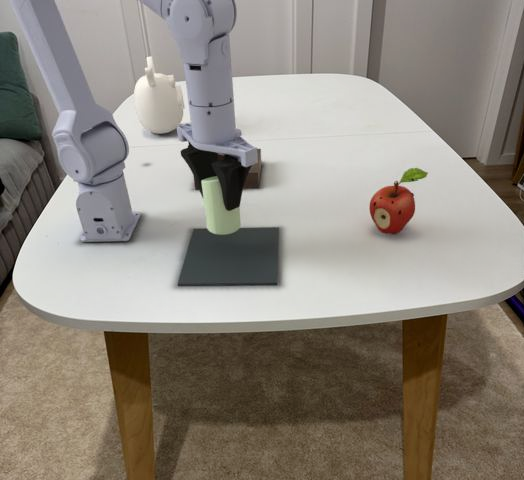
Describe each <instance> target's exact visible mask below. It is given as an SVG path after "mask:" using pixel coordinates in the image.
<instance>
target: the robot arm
mask: <svg viewBox="0 0 524 480" xmlns="http://www.w3.org/2000/svg"><path fill="white" fill-rule="evenodd" d="M8 1H9V3H10V6H11V8H12V11H13V12H14V15H15V17H16V19H17V22H18V24H19V26H20V29H21V31H22V33H23V35H24V38H25V39H26V42H27V44H28V46H29V49H30V51H31V53H32V56H33V57H34V61H35V62H36V64H37V66H38V69H39V71H40V73H41V76H42V79H43V80H44V83H45V85H46V88H47V90H48V91H49V94H50V97H51V99H52V101H53V103H54V105H55V107H56V110H57V112H58V117H57V120H56V123H55V125H54V128H53V129H52V133H51V136H52V139H53V141H54V143H55V145H56V146H55V147H56V150H57V158H58V162H59V164H60V166H61V168H62V169H63V171H64V172H65V174H66V175H67V176H69V177H70V178H71V179H72V181H73V182H76V183H77V184H78V190H79V191H78V195H77V197H76V201H75V208H76V212H77V215H78V217H79V221H80V224H81V225H80V226H81V228H82V232H83V233H82V235H81V236H80V238H79V240H80V242H82V243H85V242H86V243H89V242H91V243H93V242H94V243H95V242H96V243H98V242H128V241H130V239H131V237H132V235H133V233H134V231H135V229H136V226H137V225H138V222H139V220H140V218H141V216H142V213H141V212H140V211H133V208H132V204H131V199H130V196H129V191H128V185H127V182H126V177H125V173H124V170H125V169H126V163H125V161H126V160H127V158H128V156H129V153H130V147H129V142H128V139H127V137H126V135H125V133H124V132H123V130H122V129H121V128H120V127H119V125H118V124H117V122H116V120H115V118H114V115H113V113H112V112H111V111H110V110H108V109H107V108H105V107H103V106H101V105H99V104H98V103H96V101H95V98H94V95H93V93H92V91H91V89H90V88H91V87H90V86H89V83H88V80H87V78H86V76H85V73H84V71H83V68H82V66H81V63H80V61H79V58H78V56H77V52H76V51H75V47H74V46H73V43H72V41H71V38H70V35H69V32H68V31H67V28H66V26H65V24H64V23H65V22H64V20H63V18H62V15H61V13H60V11H59V8H58V6H57V3H56V0H8ZM138 1H139V2H140V3H141V4H143V5H144V6H145V7H147V8H148V9H150V10H151V11H152V12H153V13H155V14H156V15H158V16H159V17H160V18H161V19H162V20H164V21H165V22H166V24H167V27H168V30H169V32H170V35H172V37H173V39H174V40H175V42H176V43H177V45H178V50H179V57H180V58H181V59H182V63H183V70H184V71H183V72H184V78H185V79H184V80H185V85H186V94H187V103H188V110H189V118H190V122H187V123H183V124H179V126H177V128H176V132H177V139H178V141H179V142H181V143H184V142H188V145H187V147H186V148H183V149H181V150H180V157H181V158H182V159H183V161H184V162H185V163H186V164H187V166H188V168H189V170H190V171H191V173H192V175H194V176H193V178H194V177H195V180H196V182H197V185H198V188H199V189H198V190H199V192H200V195H201V197H202V198H203V191H202V183H201V181H202V180H204V179H206V178H210V177H215V176H217V177H218V180H219V183H220V186H221V190H222V196H223V202H224V205H225V208H226V210H228V211H231V210H233V209H235V208H238V207H239V208H240V207H241V201H242V196H243V191H244V188H243V187H244V183H245V180H246V177H247V175H248V173H249V170H250V168H251V166H252V165H253V164H256V163H258V156H257V149H258V147H256V146H254V145H252V144H250V143H249V142H248V141H247V140H246V139H244V138H243V137H242V129H239V128H237V124H236V111H235V97H234V96H235V95H234V84H233V83H234V81H233V71H232V70H233V69H232V68H233V67H232V54H231V42H230V39H231V38H230V33H231V32H232V30H234V27H235V25H236V21H237V18H238V17H237V15H238V13H237V10H238V9H237V4H236V1H235V0H138ZM218 153H219V154H222V155H224V159H222V160H219V161H217V159H218Z"/></svg>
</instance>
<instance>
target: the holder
mask: <svg viewBox="0 0 524 480" xmlns="http://www.w3.org/2000/svg"><path fill="white" fill-rule="evenodd" d="M257 156H258V163H256V164H253V165H252V166H251V168H250V170H249V173H248V175H247V177H246V180H245V183H244V187H243V189H259V188H260V180H261V171H262V148H257ZM222 159H224V155H222V154H219V153H218V159H217V161H219V160H222ZM192 175H193V174H192ZM193 183H194V189H195V190H199V188H198V185H197V182H196V180H195V177H194V175H193Z"/></svg>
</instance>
